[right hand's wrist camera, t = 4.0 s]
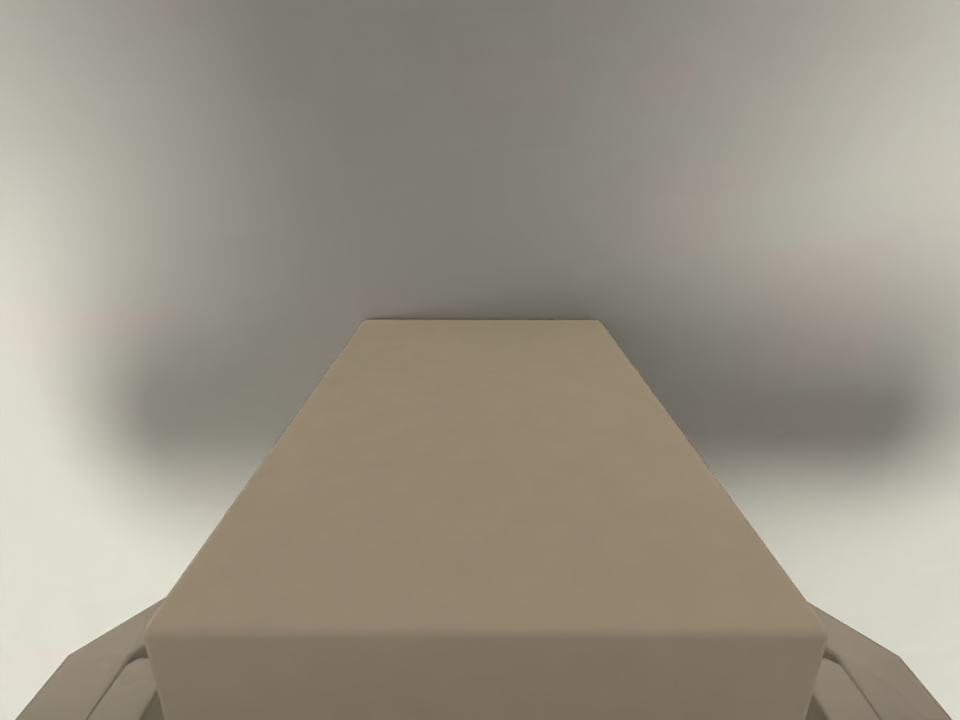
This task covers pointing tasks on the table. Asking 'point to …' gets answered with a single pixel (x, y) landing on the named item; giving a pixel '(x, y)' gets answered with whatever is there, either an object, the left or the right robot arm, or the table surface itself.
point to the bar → (484, 551)
